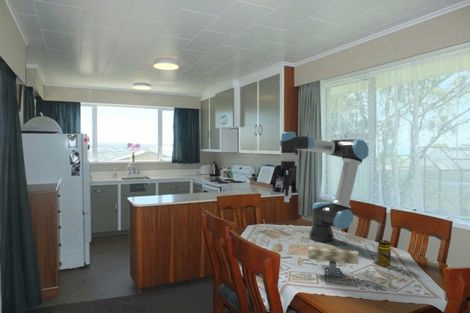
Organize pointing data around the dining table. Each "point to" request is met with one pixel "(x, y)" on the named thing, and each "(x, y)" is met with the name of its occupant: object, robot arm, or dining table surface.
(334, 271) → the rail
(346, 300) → the dining table surface
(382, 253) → the condiment
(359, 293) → the dining table surface
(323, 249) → the bar
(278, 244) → the dining table surface
